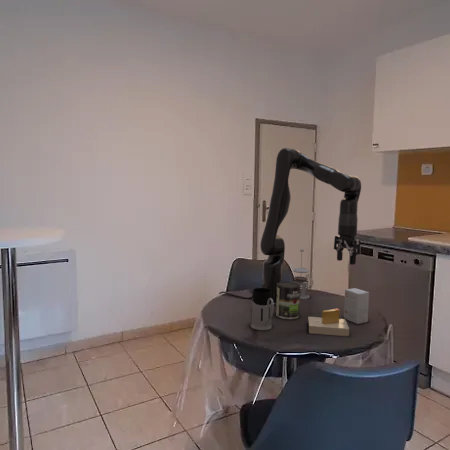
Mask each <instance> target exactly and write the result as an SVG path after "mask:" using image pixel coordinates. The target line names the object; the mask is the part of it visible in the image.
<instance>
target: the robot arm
mask: <svg viewBox="0 0 450 450" xmlns="http://www.w3.org/2000/svg"><path fill="white" fill-rule="evenodd" d="M276 155H277V156H276V159H275V171H274V179H273V185H272V191H271V195H270V200H269V205H268V211H267V216H266V221H265V225H264V229H263V233H262V236H261V239H260V245H259V247H260V251H261V253H262V254H263V255H265V256H268V257H267V258H266V259H265V260H264V261H263V263H262V284H261V288H267V289H270V290H271V291H272V292H271V298H272V300H273V302H274V306H276V303H277V283H279V282H283V281H282V276H283V265H284V262H285V253H286V252H285V250H286V244H285V241H284V238H283V237H282V236H280V235H278V231H279V228H280V226H281V225H282V223H283V221H285V218H286V216H287V215H288V212H289V209H290V205H291V200H292V199H291V197H292V195H291V190H290V184H289V180H290V179H289V177H290V173H291V170H299V171H303V172H305V173H307V174H309V175H311V177H313V178H315V179H316V180H318V181H320V182H322V183H324V184H327V185H328V186H329V185H330V186H331V187H333V188H334V189H336V190H337V191H340V192H341V193H344V194H343V198H341V200H340V202H339V212H338V213H339V215H338V220H337V221H338V223H337V235H335V236H334V240H333V241H334V242H333V250H335V251H336V260H337V261H339V262H340V261H343V257H344V256H343V251H344V249H346V250H347V251H348V252H349V265H351V266H353V265H355V264H356V263H357V256H358V255H361V240H360V239H356V238H355V237H357V235H358V221H359V220H358V219H359V218H358V207H359V206H358V204H359V199H360V195H361V192H362V181H361V179H360V178H359V177H358V176H357V175H349V174H346V173H343V172H341V171H340V170H338V169H336V168H334V167H332V166H329V165H327V164H324V163H322V162H319V161H316V160H314V159H312V158H310V157H308V156H307V155H305V154H304V153H302V152H301V151H299V150H298V149H296V148H289V147H283V148H281V149H280V150H279V151H278V153H277V154H276ZM221 294H226V295H228V296H233V297H235V298H240V299H243V300H253V294H252V295H251V297H250V296H249V297H247V296H246V297H245V296H241V295H237V294H233V293H229V292H227V291H220V292H219V293H218V295H221ZM271 302H272V301H271Z"/></svg>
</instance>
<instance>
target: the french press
mask: <svg viewBox="0 0 450 450" xmlns="http://www.w3.org/2000/svg"><path fill="white" fill-rule="evenodd" d="M299 251H300V252H301V254H300V255H301V260H300V267H296V268H294V269H293V272H294V273H298V274H306V276H302V275H300V276H295V277H293V281H292V282H294V283H298V284H300V300H306V299H310V295H309V289H310V288H311V287H313V284H314V283H313V276H312V275H310V274H309V272H310V270H309V269H307V268H306V267H303V266H302V263H303V262H302V261H303V260H302V259H303V252H304V249H303V248H300V250H299ZM307 273H308V274H307ZM308 278H309V280H308ZM309 283H310V284H309Z"/></svg>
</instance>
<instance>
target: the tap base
mask: <svg viewBox="0 0 450 450" xmlns="http://www.w3.org/2000/svg"><path fill="white" fill-rule="evenodd" d="M307 329H308V334H313V335H327V336H341V337H350V327H349V325H348V322H347V319H344V318H339V322H337V323H330V324H323V323H322V317H318V316H308V317H307Z"/></svg>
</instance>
